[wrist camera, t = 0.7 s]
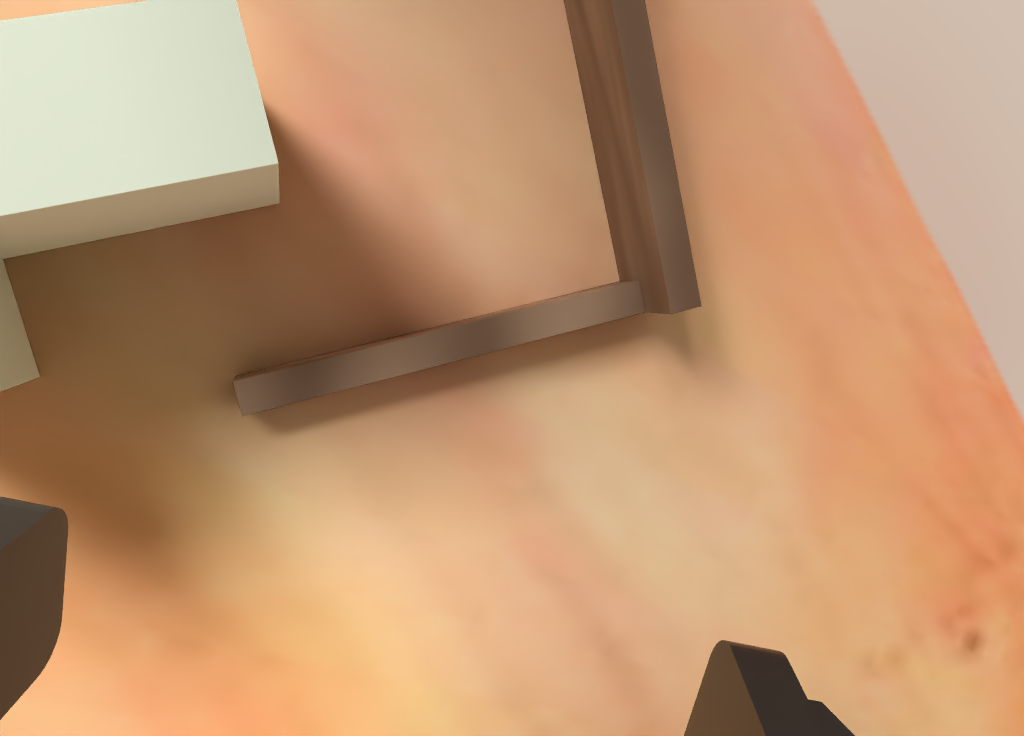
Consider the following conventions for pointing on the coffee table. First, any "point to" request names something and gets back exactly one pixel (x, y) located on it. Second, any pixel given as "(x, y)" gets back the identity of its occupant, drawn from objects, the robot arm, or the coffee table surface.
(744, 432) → the coffee table surface
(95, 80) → the t block
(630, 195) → the dock
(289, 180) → the coffee table surface
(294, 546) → the coffee table surface
